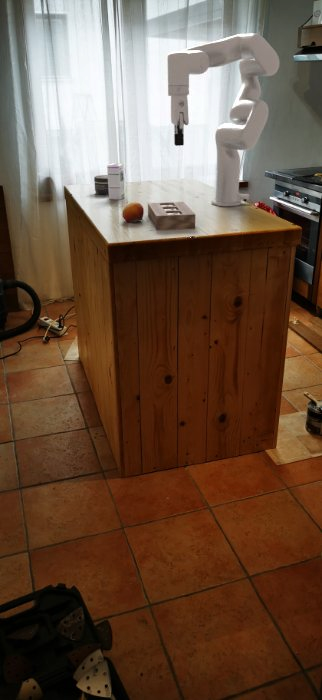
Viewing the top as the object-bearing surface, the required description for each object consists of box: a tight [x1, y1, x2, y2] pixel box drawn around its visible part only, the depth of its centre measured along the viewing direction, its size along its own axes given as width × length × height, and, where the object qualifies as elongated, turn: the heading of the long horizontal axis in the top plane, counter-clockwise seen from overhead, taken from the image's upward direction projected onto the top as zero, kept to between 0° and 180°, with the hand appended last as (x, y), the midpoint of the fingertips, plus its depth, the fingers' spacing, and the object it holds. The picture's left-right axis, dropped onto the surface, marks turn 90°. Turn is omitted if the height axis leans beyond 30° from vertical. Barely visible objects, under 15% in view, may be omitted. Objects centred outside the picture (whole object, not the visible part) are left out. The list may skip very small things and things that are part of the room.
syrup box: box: [106, 162, 125, 200], centre depth 246 cm, size 6×6×14 cm
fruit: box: [122, 202, 145, 223], centre depth 209 cm, size 8×8×8 cm
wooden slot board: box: [147, 201, 196, 231], centre depth 208 cm, size 14×22×5 cm, turn 9°
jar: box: [93, 174, 109, 196], centre depth 257 cm, size 10×10×8 cm
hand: (179, 145), depth 208 cm, fingers closed
